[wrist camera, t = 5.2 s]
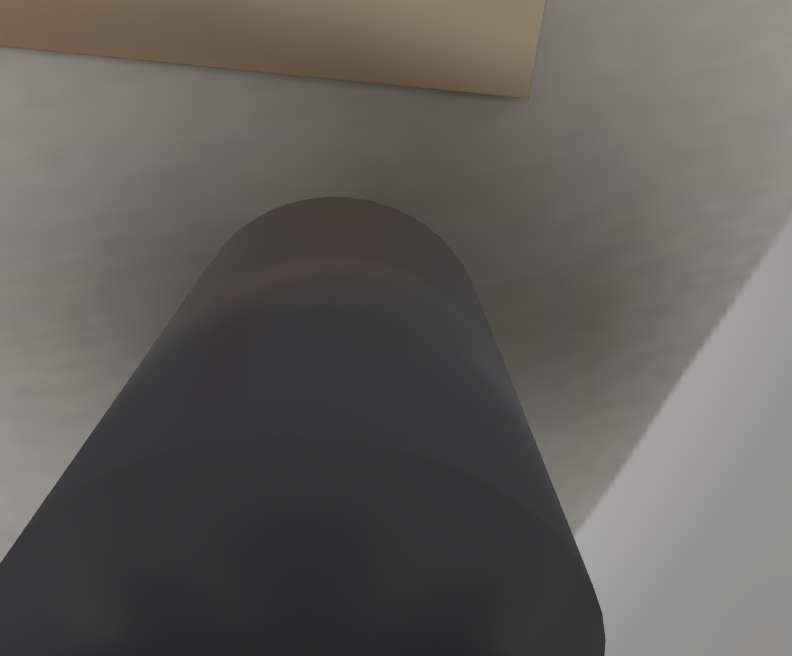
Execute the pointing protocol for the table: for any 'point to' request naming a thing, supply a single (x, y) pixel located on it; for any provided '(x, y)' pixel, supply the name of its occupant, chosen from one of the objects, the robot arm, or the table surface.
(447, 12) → the cork mat
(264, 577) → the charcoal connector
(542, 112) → the table surface
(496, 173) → the table surface
